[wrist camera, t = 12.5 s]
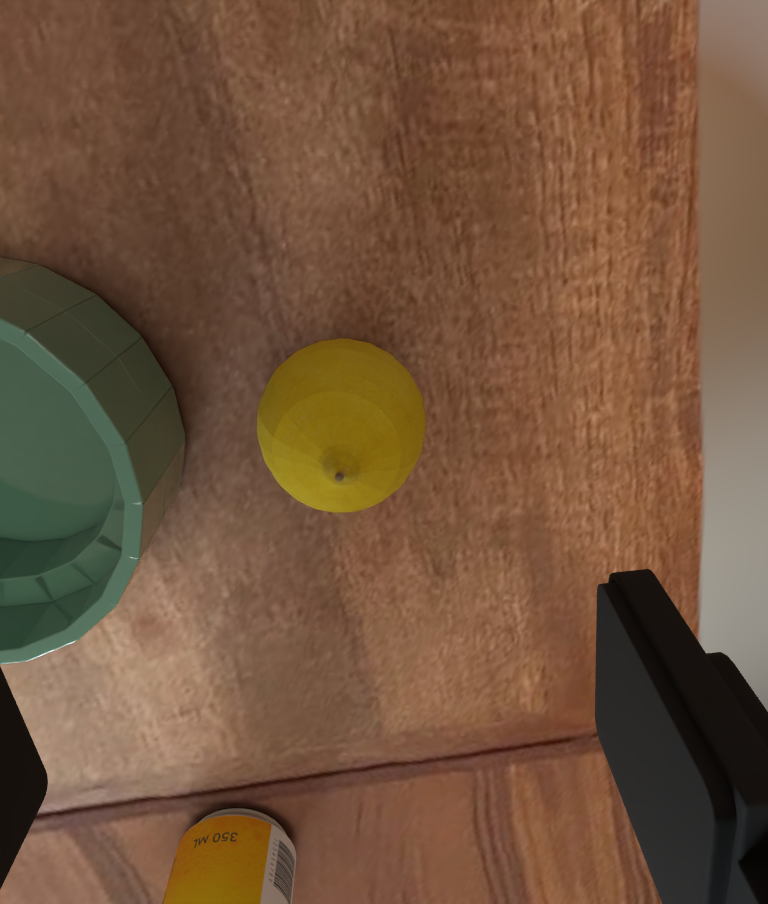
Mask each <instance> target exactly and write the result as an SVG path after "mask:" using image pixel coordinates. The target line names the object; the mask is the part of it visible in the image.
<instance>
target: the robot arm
mask: <svg viewBox="0 0 768 904" xmlns="http://www.w3.org/2000/svg"><path fill="white" fill-rule="evenodd" d="M595 721H596V728H597V733H598V736H599V740H600V743H601V745H602V748H603V751H604V753H605V756H606V758H607V761H608V764H609V766H610V769H611V771H612V774H613V777H614V779H615V782H616V784H617V787H618V790H619V792H620V795H621V797H622V800H623V803H624V805H625V808H626V810H627V813H628V816H629V818H630V821H631V823H632V826H633V829H634V831H635V834H636V836H637V839H638V842H639V844H640V847H641V849H642V852H643V855H644V857H645V860H646V862H647V865H648V868H649V870H650V873H651V875H652V878H653V881H654V883H655V886H656V888H657V891H658V894H659V896H660V899H661V901H662V904H768V712H767V710H766V709H765V707H764V706H763V705H762V703H761V702H760V700H759V699H758V697H757V696H756V695H755V693H754V692H753V690H752V689H751V687H750V686H749V685H748V683H747V682H746V680H745V679H744V677H743V676H742V675H741V673H740V671H739V670H738V669H737V667H736V666H735V664H734V663H733V662H732V661H731V660H730V659H729V657H728V656H727V655H725V654H723V653H721V652H717V653H708V654H706V653H705V651H704V650H703V648H702V647H701V645H700V644H699V642H698V641H697V639H696V638H695V636H694V634H693V633H692V631H691V630H690V628H689V627H688V625H687V624H686V622H685V621H684V619H683V618H682V616H681V615H680V613H679V612H678V610H677V608H676V607H675V605H674V604H673V602H672V601H671V599H670V598H669V596H668V595H667V593H666V592H665V590H664V589H663V587H662V586H661V584H660V582H659V581H658V579H657V578H656V576H655V575H654V573H653V572H652V571H651V570H649V569H644V570H634V571H625V572H616V573H612V574H610V577H609V582H608V583H604V584H599V585H598V588H597V628H596V689H595ZM47 784H48V779H47V773H46V770H45V768H44V765H43V763H42V761H41V758H40V756H39V754H38V752H37V749H36V747H35V745H34V743H33V740H32V738H31V736H30V733H29V731H28V729H27V727H26V724H25V722H24V720H23V717H22V715H21V713H20V711H19V708H18V706H17V704H16V701H15V699H14V697H13V695H12V692H11V690H10V688H9V685H8V683H7V681H6V679H5V676H4V674H3V672H2V670H1V667H0V889H1V887H2V885H3V883H4V881H5V878H6V876H7V874H8V872H9V870H10V868H11V866H12V864H13V862H14V860H15V858H16V856H17V854H18V852H19V850H20V848H21V845H22V843H23V841H24V839H25V837H26V835H27V833H28V831H29V829H30V827H31V825H32V823H33V821H34V819H35V817H36V814H37V812H38V810H39V808H40V806H41V804H42V802H43V800H44V798H45V795H46V791H47Z"/></svg>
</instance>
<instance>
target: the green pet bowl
mask: <svg viewBox="0 0 768 904" xmlns="http://www.w3.org/2000/svg"><path fill="white" fill-rule="evenodd" d="M141 337H142V336H141V335H140V334H139V333H138V332H137V331H136V330H135V329H133V328H132V327H131V326H130V325H129V324H128V323H127V322H126V321H125V320H124V319H123V318H122V317H120V316H119V315H118V314H117V313H116V312H115V311H114V310H113V309H112V308H111V307H110V306H109V305H107V304H106V303H105V302H104V301H103V300H102V299H101V298H100V297H99V296H98V295H96V294H95V293H93V292H91V291H89V290H87V289H85V288H83V287H81V286H79V285H77V284H76V283H74V282H72V281H70V280H68V279H66V278H64V277H62V276H60V275H58V274H56V273H54V272H52V271H50V270H48V269H46V268H44V267H42V266H40V265H38V264H33V263H28V262H23V261H18V260H13V259H8V258H2V257H0V664H8V663H17V662H26V661H30V660H32V659H34V658H37V657H39V656H42V655H44V654H47V653H49V652H51V651H54V650H56V649H59V648H61V647H64V646H66V645H68V644H71V643H73V642H76V641H77V640H79V639H80V638H81V637H83V636H84V635H85V634H86V633H87V632H88V631H89V630H90V629H91V628H93V627H94V626H95V625H96V624H97V623H98V622H99V621H100V620H101V619H103V618H104V617H105V616H106V615H107V614H108V613H109V612H110V611H112V610H113V609H114V608H115V607H116V605H117V604H118V603H119V601H120V599H121V597H122V596H123V594H124V592H125V590H126V588H127V587H128V585H129V583H130V581H131V580H132V578H133V576H134V574H135V572H136V571H137V569H138V567H139V565H140V563H141V562H142V560H143V558H144V556H145V555H146V553H147V551H148V549H149V547H150V546H151V544H152V542H153V540H154V538H155V537H156V535H157V533H158V531H159V529H160V528H161V526H162V524H163V522H164V520H165V518H166V516H167V514H168V512H169V510H170V508H171V506H172V504H173V502H174V500H175V498H176V496H177V494H178V492H179V490H180V488H181V485H182V475H183V464H184V453H185V443H186V438H185V433H184V429H183V425H182V421H181V417H180V413H179V408H178V404H177V400H176V396H175V392H174V388H173V387H172V385H171V383H170V382H169V380H168V378H167V377H166V375H165V373H164V372H163V370H162V368H161V367H160V365H159V364H158V362H157V360H156V359H155V357H154V355H153V354H152V352H151V350H150V349H149V347H148V346H147V344H146V342H145V341H144V339H143V338H141Z"/></svg>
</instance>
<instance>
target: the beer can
mask: <svg viewBox="0 0 768 904" xmlns="http://www.w3.org/2000/svg"><path fill="white" fill-rule="evenodd" d="M295 869H296V851H295V848H294V845H293V843H292V842H291V840H290V839H289V838H288V836H287V835H286V833H285V831H284V830H283V828H282V827H281V826H280V824H278V823H277V822H276V821H275V820H274V819H272V818H271V817H269V816H267V815H265V814H263V813H261V812H258V811H254V810H250V809H243V808H231V809H224V810H220V811H216V812H214V813H211V814H209V815H208V816H206V817H204V818H203V819H202V820H201V821H200V822H199V823H197V824H196V825H194V826H193V827H191V828H190V829H189V830H188V831H187V832H186V833H185V834H184V835H183V837H182V838H181V840H180V842H179V845H178V848H177V852H176V855H175V859H174V863H173V866H172V870H171V873H170V877H169V881H168V884H167V888H166V891H165V895H164V899H163V902H162V904H292V897H293V888H294V878H295Z"/></svg>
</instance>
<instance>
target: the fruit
mask: <svg viewBox="0 0 768 904" xmlns="http://www.w3.org/2000/svg"><path fill="white" fill-rule="evenodd" d="M425 428H426V415H425V409H424V403H423V398H422V395H421V394H420V392H419V390H418V388H417V386H416V384H415V382H414V380H413V378H412V377H411V375H410V373H409V371H408V370H407V369H406V368H405V367H404V366H403V365H402V364H401V363H400V362H399V361H398V360H397V359H396V358H395V357H394V356H393V355H392V354H390V353H388V352H386V351H384V350H382V349H380V348H378V347H376V346H375V345H373V344H371V343H368V342H362V341H357V340H352V339H347V338H342V339H332V340H323V341H319V342H316V343H314V344H312V345H309V346H307V347H305V348H302V349H300V350H298V351H296V352H295V353H294V354H293V355H291V356H290V357H289V358H288V359H287V360H286V361H284V362H283V363H282V364H281V365H280V366H279V367H278V368H276V369H275V371H274V373H273V375H272V377H271V378H270V380H269V382H268V384H267V386H266V388H265V391H264V393H263V395H262V398H261V400H260V403H259V407H258V416H257V436H258V440H259V443H260V447H261V451H262V454H263V458H264V461H265V463H266V465H267V466H268V468H269V469H270V471H271V473H272V474H273V476H274V477H275V479H276V480H277V482H278V483H279V484H280V486H281V487H282V488H284V489H285V490H286V491H287V492H288V493H289V494H291V495H292V496H293V497H294V498H295V499H296V500H298V501H300V502H302V503H304V504H306V505H308V506H310V507H313V508H315V509H318V510H323V511H329V512H334V513H343V512H355V511H360V510H363V509H366V508H368V507H371V506H373V505H376V504H379V503H380V502H382V501H383V500H384V499H386V498H387V497H388V496H390V495H391V494H392V493H394V492H395V491H396V490H397V489H399V488H400V487H401V486H402V484H403V483H404V481H405V480H406V479H407V477H408V476H409V474H410V473H411V471H412V470H413V468H414V466H415V464H416V462H417V460H418V458H419V456H420V454H421V452H422V448H423V442H424V435H425Z"/></svg>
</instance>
